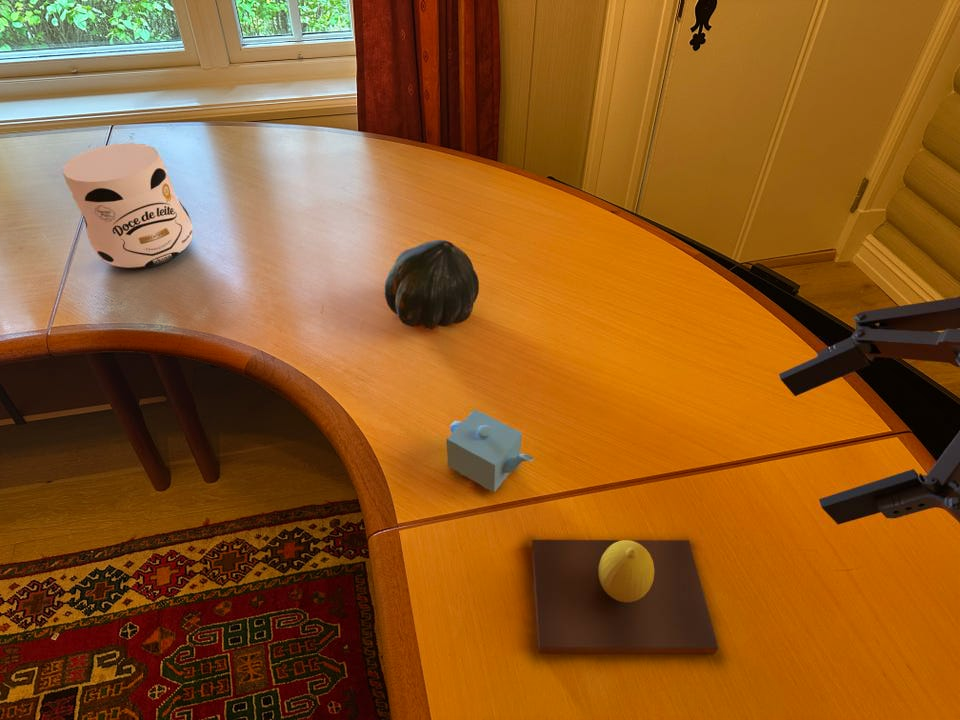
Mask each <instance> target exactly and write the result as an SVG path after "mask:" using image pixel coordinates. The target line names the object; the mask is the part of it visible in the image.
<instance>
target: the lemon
mask: <svg viewBox="0 0 960 720" xmlns="http://www.w3.org/2000/svg"><path fill="white" fill-rule="evenodd" d="M621 540H622V541H618V542H616V543H614V544H612V545H611V546H610V547H608V548H607V550H606V551H605V552H604V554H603V555H602V557H601V560H600V563H599V572H598V574H599V579H600V583H601V585H602V587H603V589H604V590H605V591H606V593H607V594H608V595H609V596H611V597H612V598H613V599H616V600H618V601H621V602H633V601H637V600H639V599H640V598H642V597H643V596H644V595H645V594H646V593H647V592H648V591H649V589H650V587H651V585H652V583H653V579H654V564H653V560H652V558H651V556H650V554H649V552H648V551H647V550H646V549H645V548H644V547H643V546H642V545H640V544H639V543H637V542H634V541H629V540H630V539H621Z"/></svg>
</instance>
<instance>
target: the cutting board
mask: <svg viewBox="0 0 960 720" xmlns="http://www.w3.org/2000/svg"><path fill="white" fill-rule="evenodd" d="M622 540H623V539H532V541H531V558H532V559H531V560H532V574H533V589H534V590H533V591H534V604H535V620H536V621H535V622H536V637H537V651H538V653H539V654H698V655H699V654H710V655H711V654H716V653H717V651H718V650H719V643H718V640H717V636H716V633H715V629H714V626H713V623H712V618H711V615H710V612H709V608H708V604H707V600H706V597H705V593H704V590H703V586H702V582H701V579H700V575H699V572H698V568H697V563H696V561H695V557H694V553H693V549H692V546H691V543H690V540H687V539H683V540H682V539H681V540H680V539H671V540H670V539H668V540H667V539H628V540H629V541H634V542H637V543H639V544H640V545H642V546H643V547H644V548H645V549H646V550H647V551H648V552H649V554H650V556H651V558H652V560H653V564H654V579H653V583H652V585H651V587H650V589H649V591H648V592H647V593H646V594H645V595H644V596H643V597H642V598H640V599H639V600H637V601H633V602H621V601H618V600H616V599H613V598H612V597H611V596H609V595H608V594H607V593H606V591H605V590H604V589H603V587H602V585H601V583H600V579H599V574H598V572H599V563H600V560H601V557H602V555H603V554H604V552H605V551H606V550H607V548H608V547H610V546H611V545H612V544H614V543H616V542H618V541H622Z"/></svg>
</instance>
